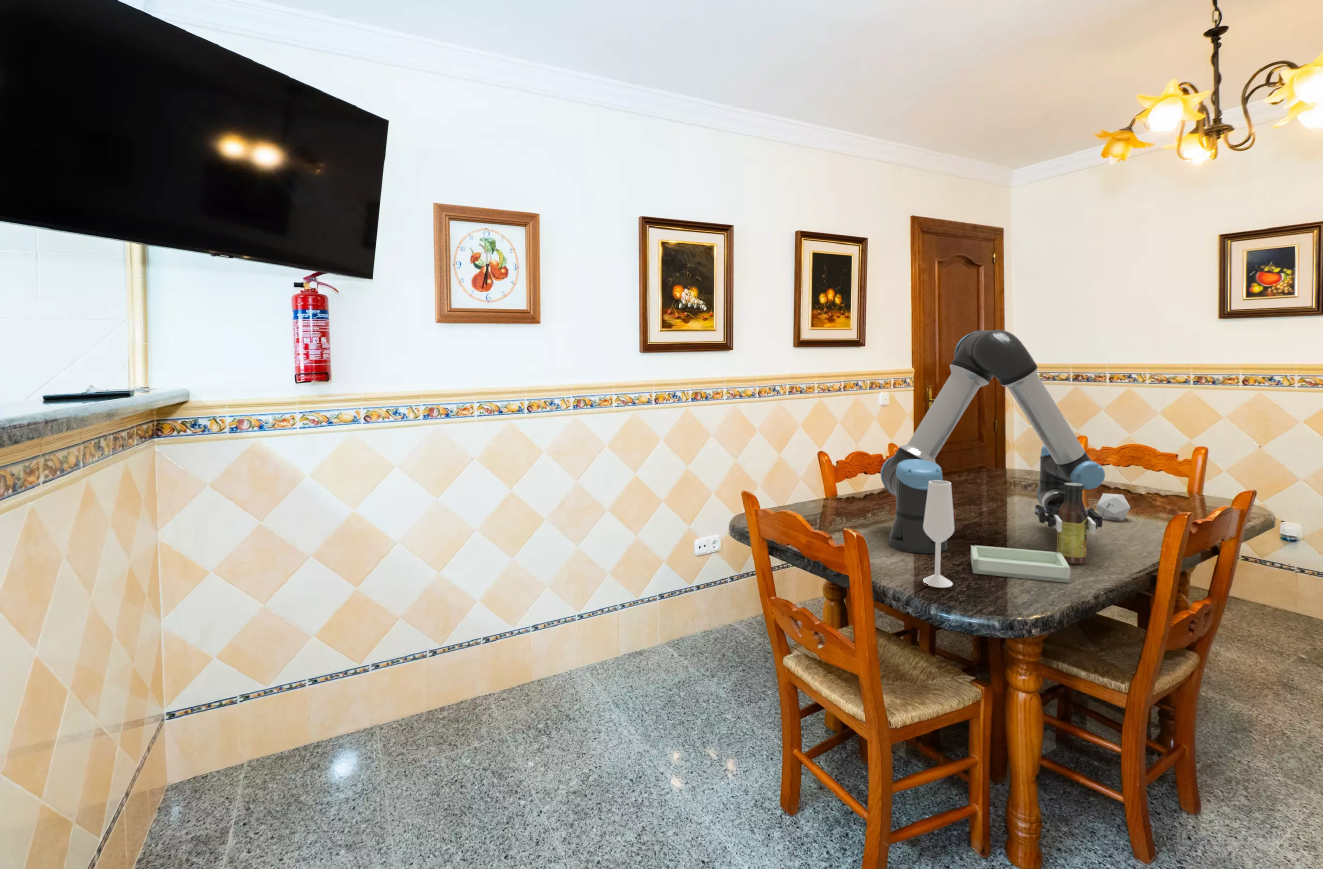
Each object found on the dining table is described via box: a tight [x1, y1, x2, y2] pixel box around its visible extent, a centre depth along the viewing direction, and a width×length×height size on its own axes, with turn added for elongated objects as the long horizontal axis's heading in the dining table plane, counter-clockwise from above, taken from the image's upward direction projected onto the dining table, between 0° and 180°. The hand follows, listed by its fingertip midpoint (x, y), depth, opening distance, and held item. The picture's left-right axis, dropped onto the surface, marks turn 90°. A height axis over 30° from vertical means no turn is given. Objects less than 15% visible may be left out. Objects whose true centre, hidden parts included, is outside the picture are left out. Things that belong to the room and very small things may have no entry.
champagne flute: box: [922, 480, 955, 588], centre depth 145 cm, size 7×7×24 cm
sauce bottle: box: [1056, 483, 1088, 565], centre depth 156 cm, size 7×6×20 cm
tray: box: [970, 544, 1071, 584], centre depth 153 cm, size 20×12×4 cm, turn 66°
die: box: [1095, 492, 1131, 522], centre depth 193 cm, size 8×9×10 cm
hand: (1076, 527), depth 152 cm, fingers closed on sauce bottle, 6 cm apart
